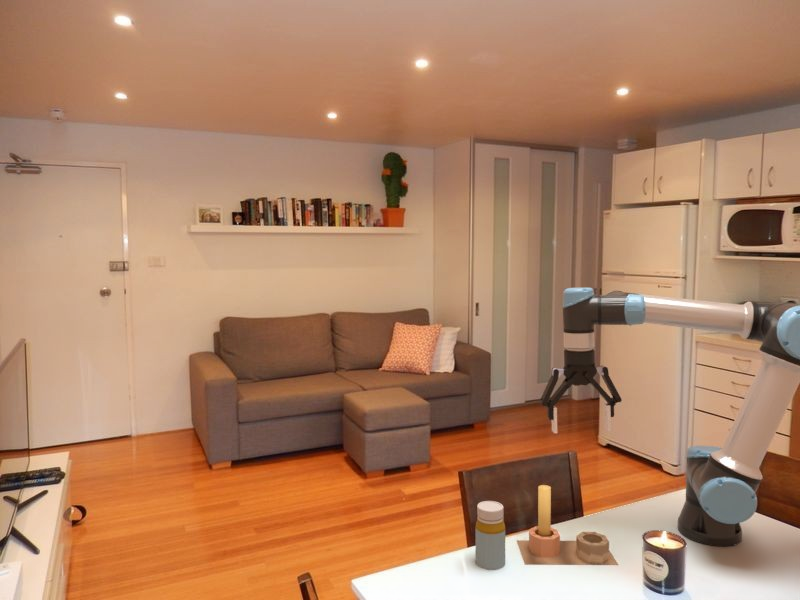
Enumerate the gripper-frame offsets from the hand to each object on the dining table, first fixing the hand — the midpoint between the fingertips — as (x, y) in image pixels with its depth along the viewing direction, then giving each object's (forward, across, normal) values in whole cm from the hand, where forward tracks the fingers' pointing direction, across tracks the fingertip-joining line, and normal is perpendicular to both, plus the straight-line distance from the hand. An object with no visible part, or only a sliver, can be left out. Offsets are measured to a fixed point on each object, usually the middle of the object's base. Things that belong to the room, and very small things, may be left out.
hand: (581, 430), depth 154 cm
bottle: (+29, +26, +12) cm, 41 cm away
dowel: (+28, +12, +6) cm, 31 cm away
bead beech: (+28, +1, +10) cm, 30 cm away
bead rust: (+28, +12, +6) cm, 31 cm away
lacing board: (+29, +7, +8) cm, 31 cm away
